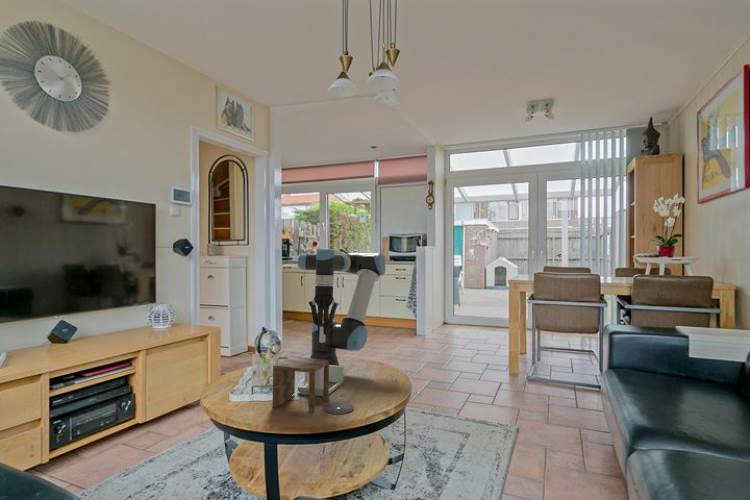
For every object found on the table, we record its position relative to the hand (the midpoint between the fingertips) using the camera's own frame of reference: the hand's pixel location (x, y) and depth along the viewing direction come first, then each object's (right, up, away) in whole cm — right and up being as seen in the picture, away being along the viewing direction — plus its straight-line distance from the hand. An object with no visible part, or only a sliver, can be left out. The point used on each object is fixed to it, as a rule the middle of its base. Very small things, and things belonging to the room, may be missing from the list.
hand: (322, 342), depth 172 cm
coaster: (+9, -19, -22) cm, 31 cm away
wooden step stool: (-5, -19, -17) cm, 26 cm away
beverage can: (-1, -19, -5) cm, 20 cm away
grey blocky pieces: (0, -19, 0) cm, 19 cm away
